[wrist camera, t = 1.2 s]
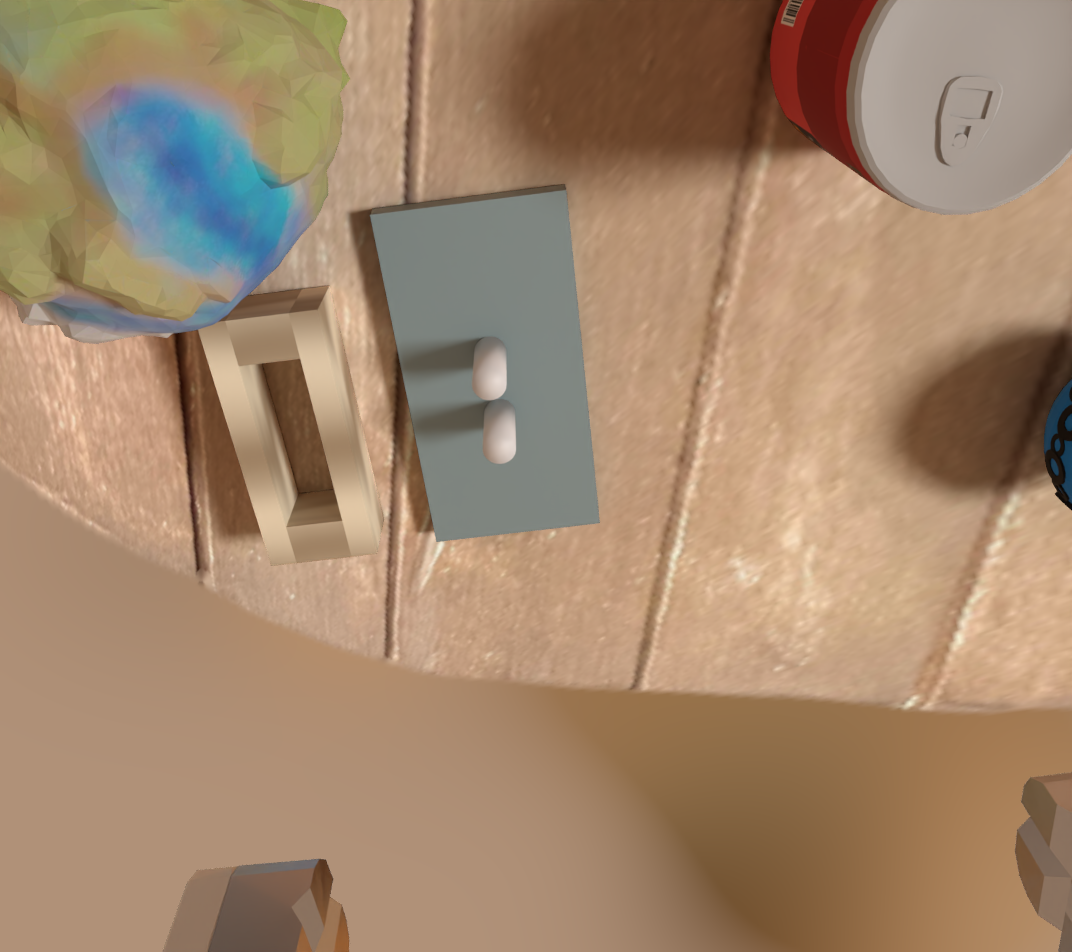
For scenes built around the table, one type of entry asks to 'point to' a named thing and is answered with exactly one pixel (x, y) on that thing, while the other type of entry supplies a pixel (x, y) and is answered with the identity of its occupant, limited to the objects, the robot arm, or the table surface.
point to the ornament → (1060, 445)
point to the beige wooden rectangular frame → (236, 366)
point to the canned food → (931, 93)
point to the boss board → (491, 359)
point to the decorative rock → (159, 155)
